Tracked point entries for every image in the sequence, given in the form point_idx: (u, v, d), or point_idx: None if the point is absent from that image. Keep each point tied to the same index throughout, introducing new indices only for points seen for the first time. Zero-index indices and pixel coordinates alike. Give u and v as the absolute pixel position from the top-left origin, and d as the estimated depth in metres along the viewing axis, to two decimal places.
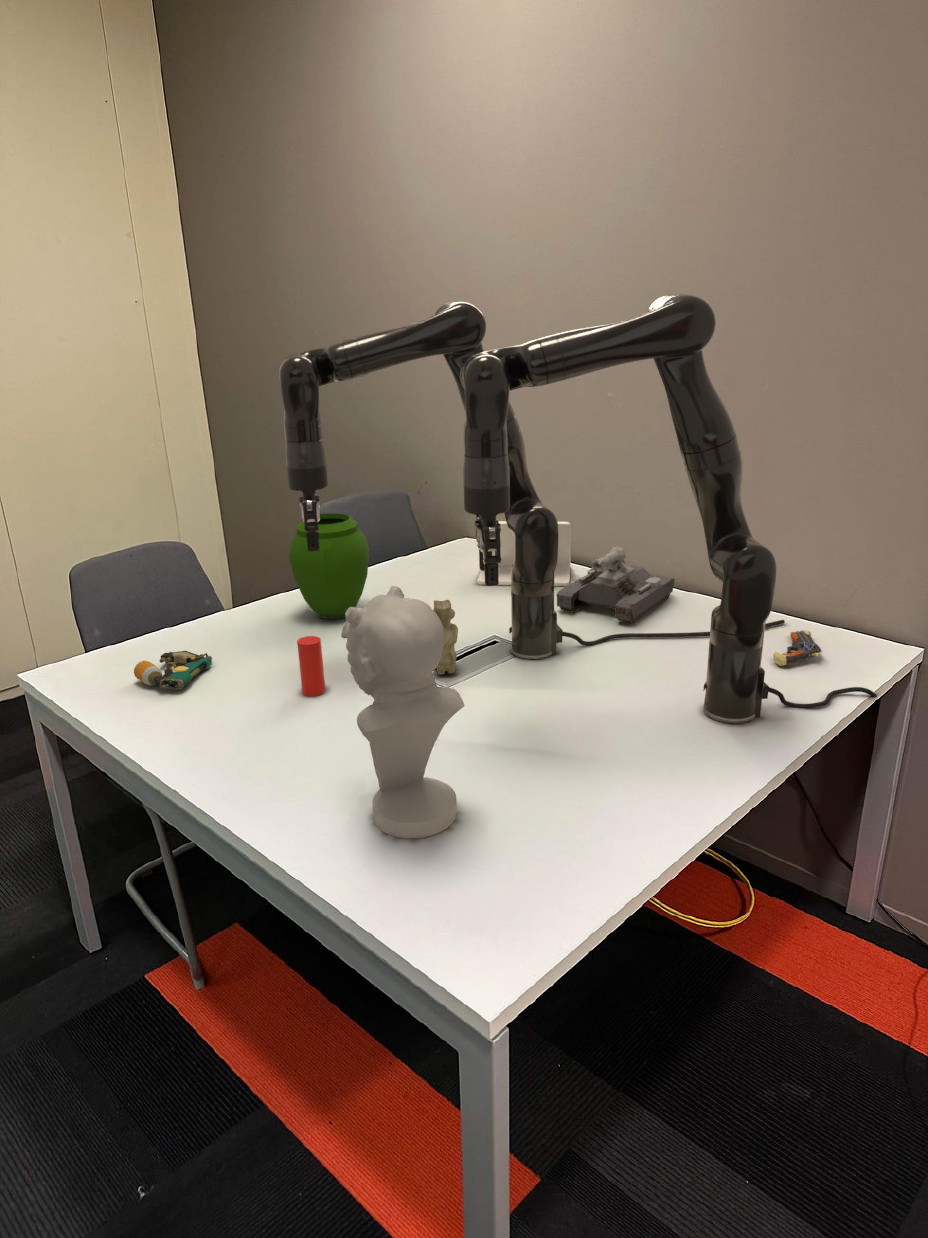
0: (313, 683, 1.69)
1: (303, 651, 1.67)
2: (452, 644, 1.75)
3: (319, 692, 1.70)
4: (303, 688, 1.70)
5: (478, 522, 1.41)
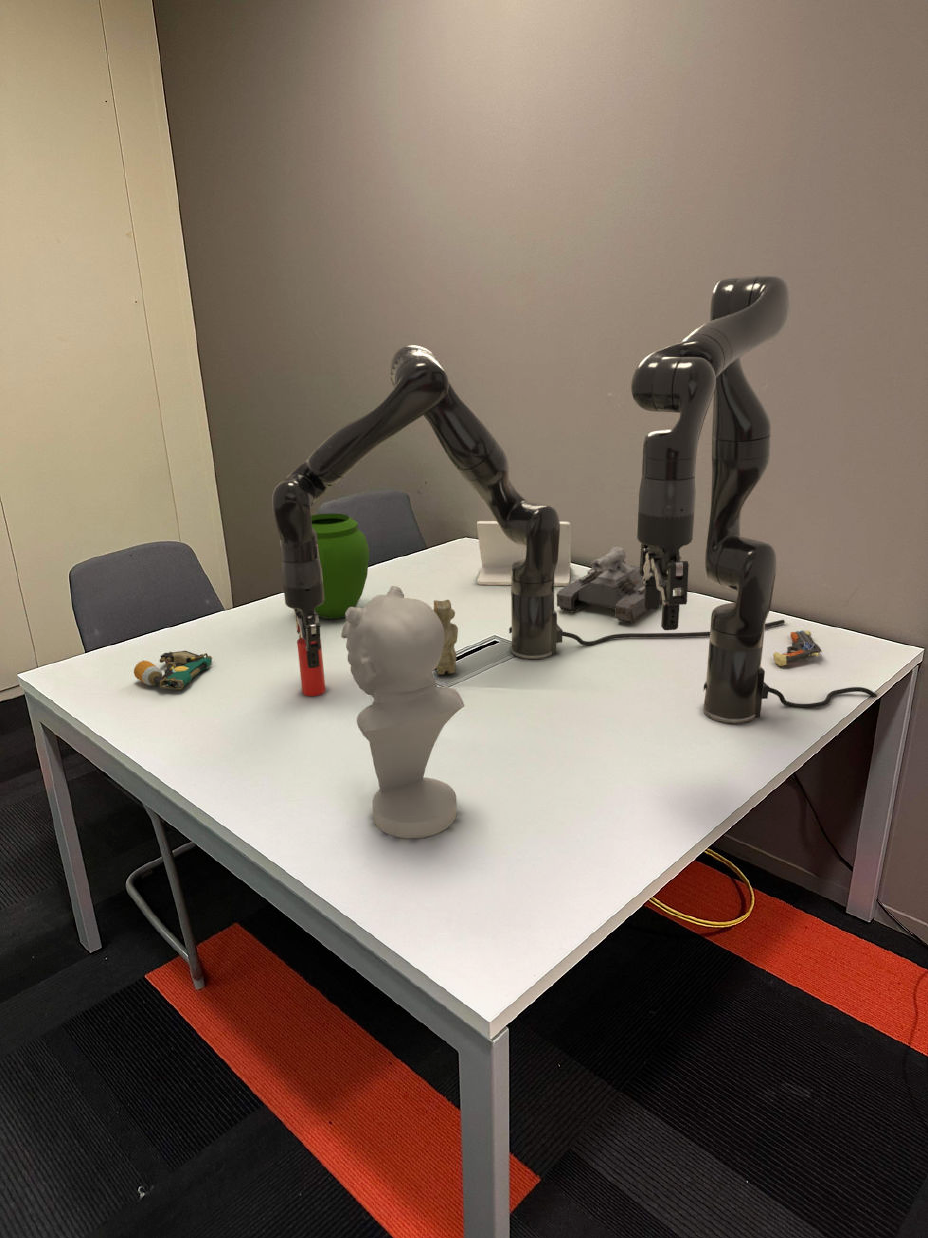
0: (313, 683, 1.69)
1: (303, 651, 1.67)
2: (452, 644, 1.75)
3: (319, 692, 1.70)
4: (303, 688, 1.70)
5: (651, 554, 1.20)
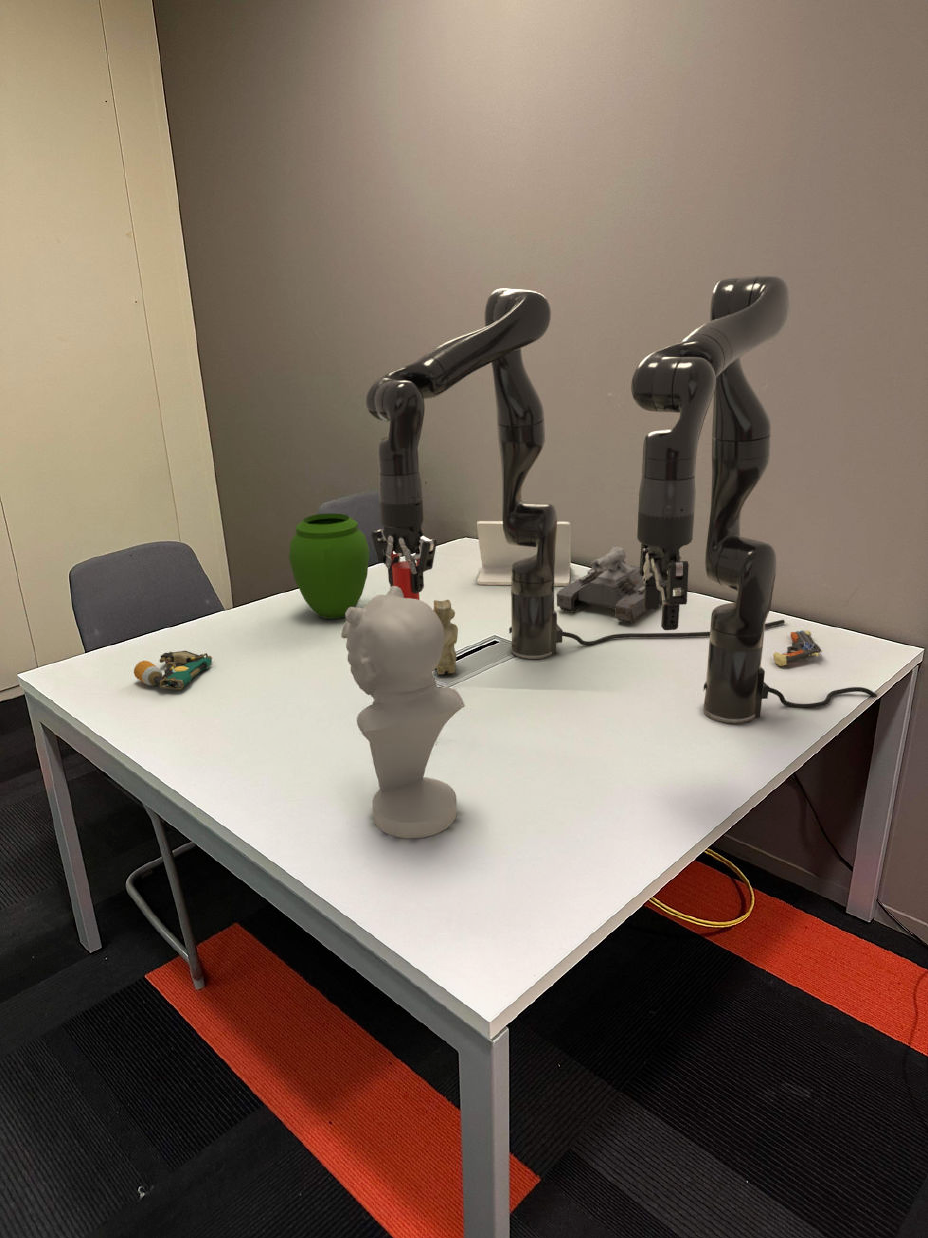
0: None
1: (406, 576, 1.52)
2: (452, 644, 1.75)
3: None
4: None
5: (651, 554, 1.20)
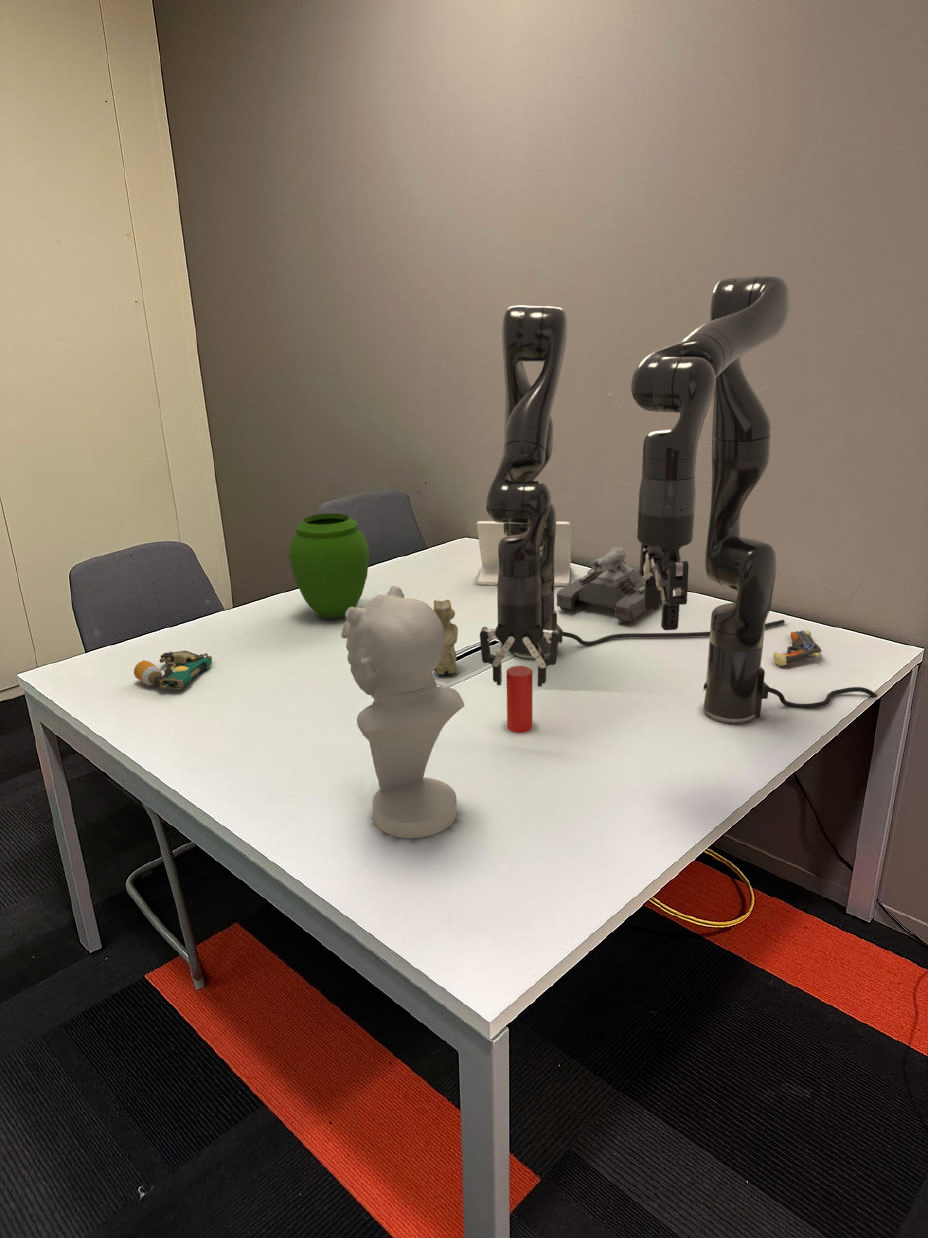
0: None
1: (528, 682, 1.50)
2: (452, 644, 1.75)
3: None
4: (523, 725, 1.53)
5: (651, 554, 1.20)
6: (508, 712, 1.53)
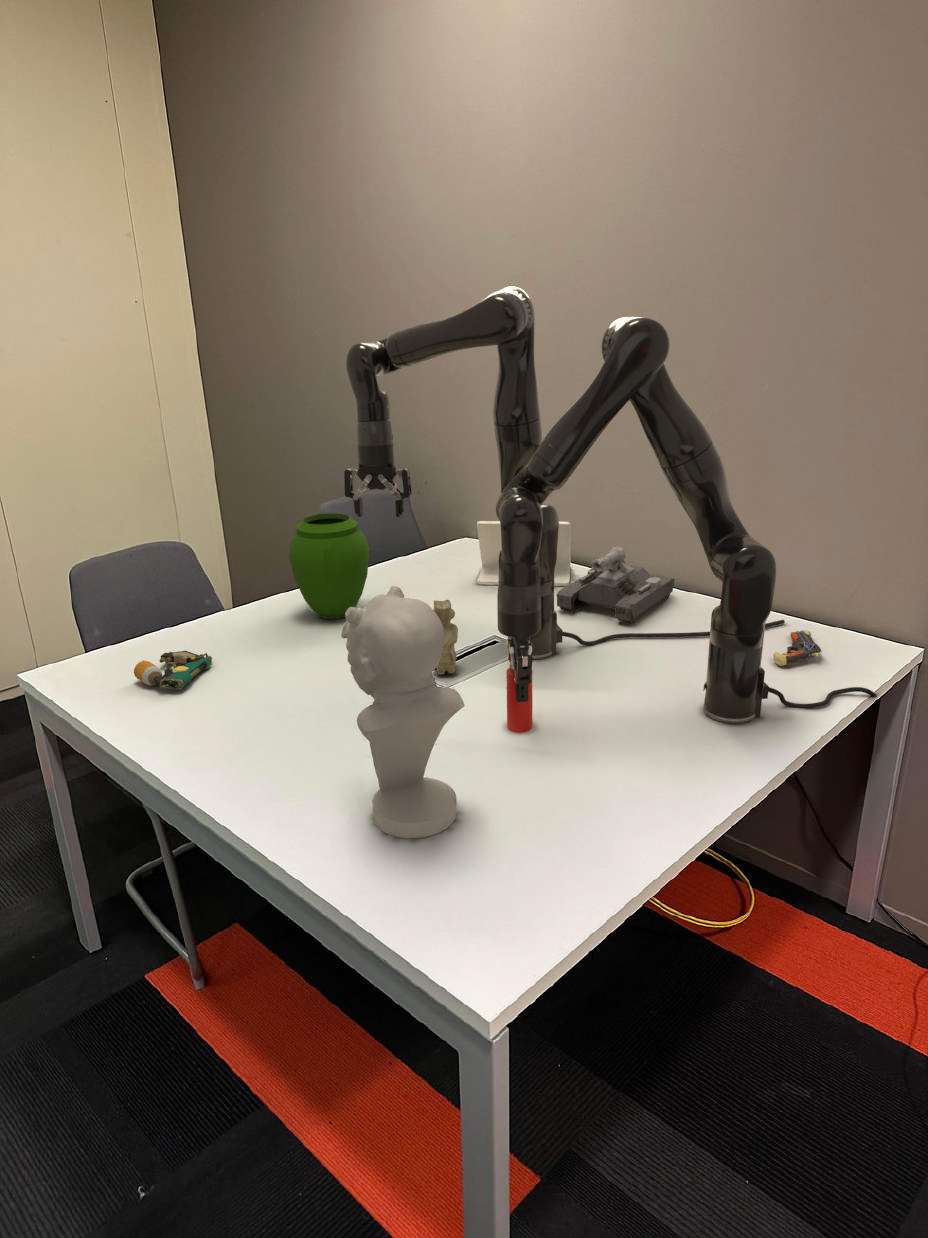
0: None
1: None
2: (452, 644, 1.75)
3: None
4: (523, 725, 1.53)
5: (510, 639, 1.50)
6: (508, 712, 1.53)
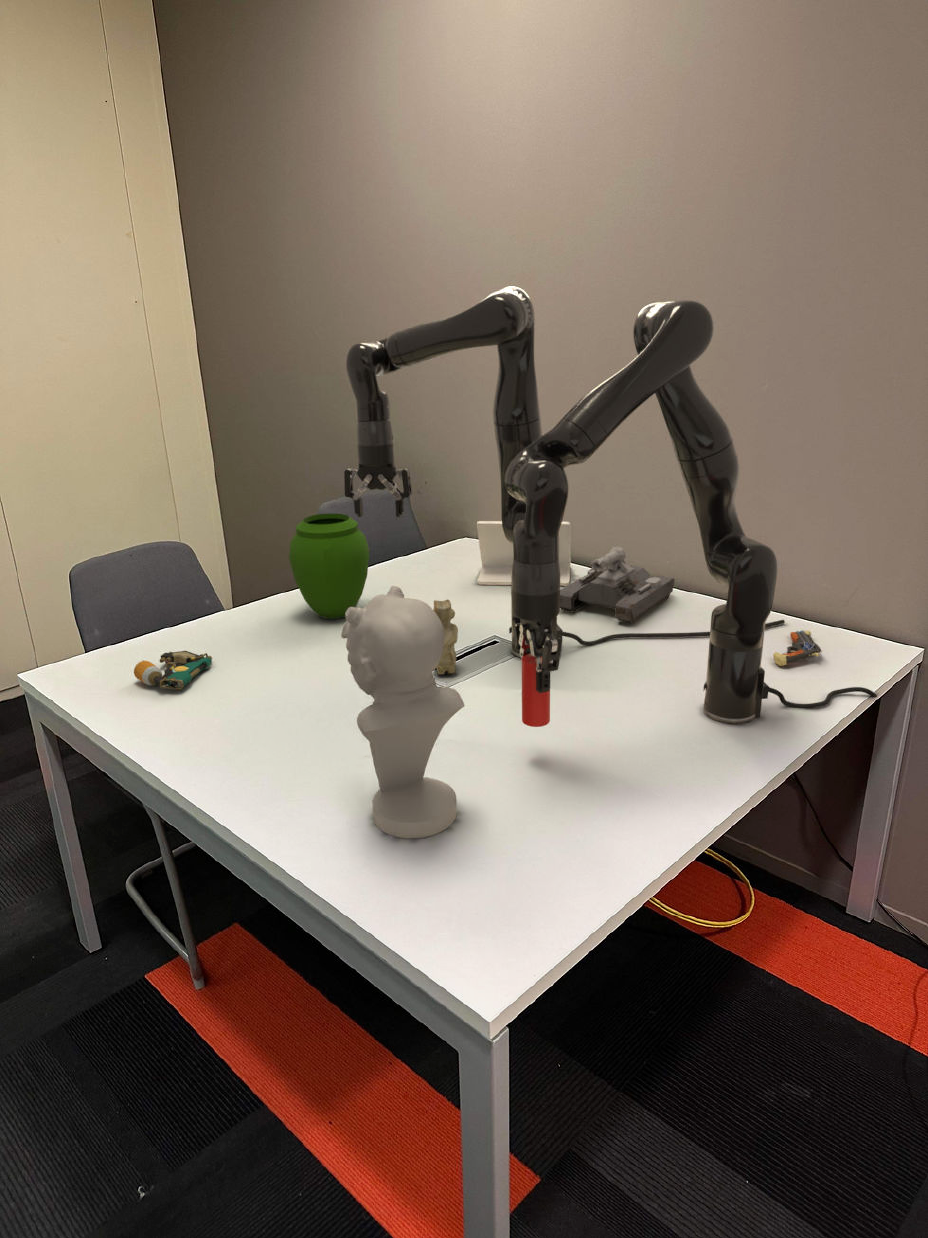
0: None
1: None
2: (452, 644, 1.75)
3: None
4: (543, 718, 1.39)
5: (525, 625, 1.36)
6: (525, 706, 1.39)
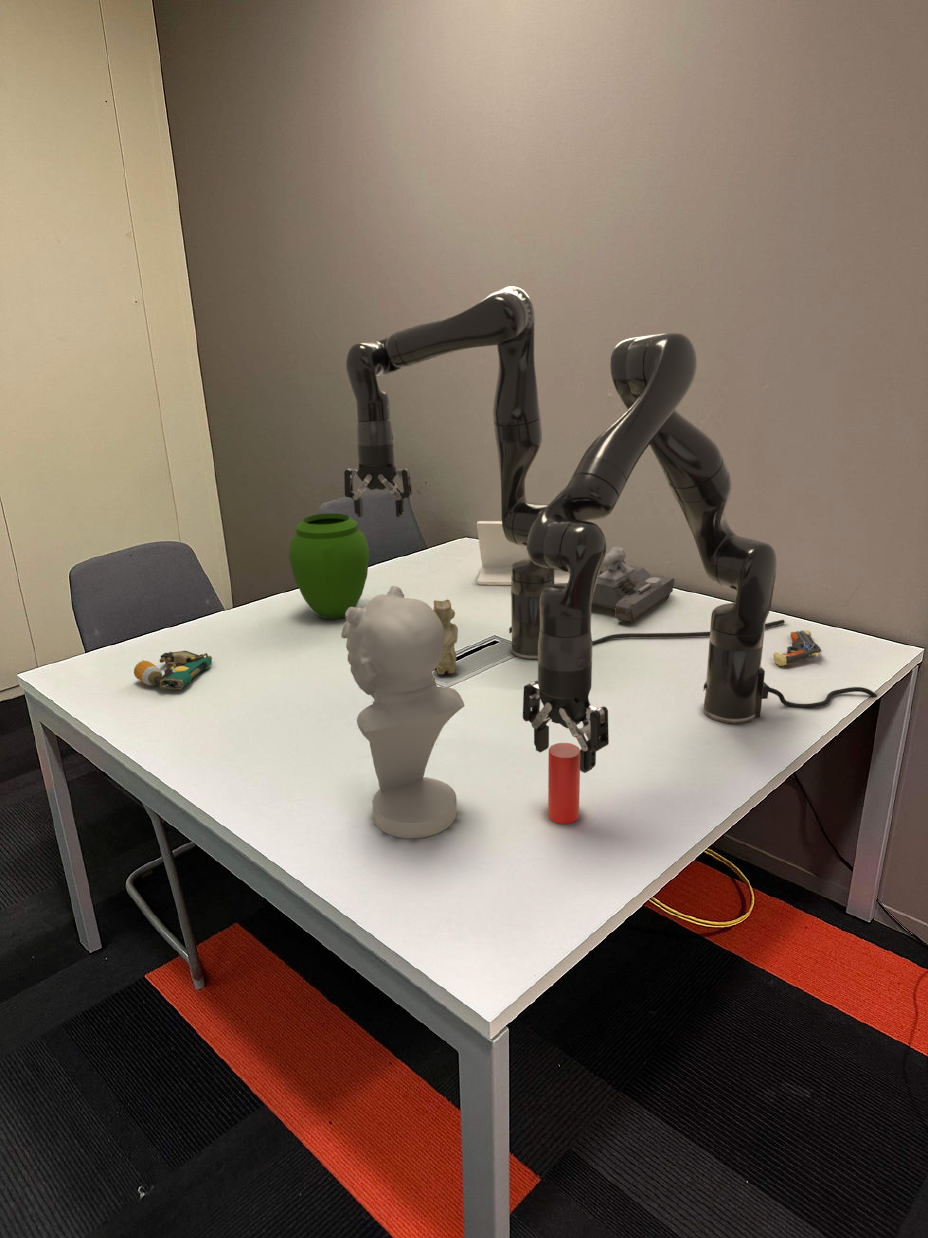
0: None
1: None
2: (452, 644, 1.75)
3: None
4: (576, 812, 1.27)
5: (553, 703, 1.21)
6: (558, 803, 1.25)
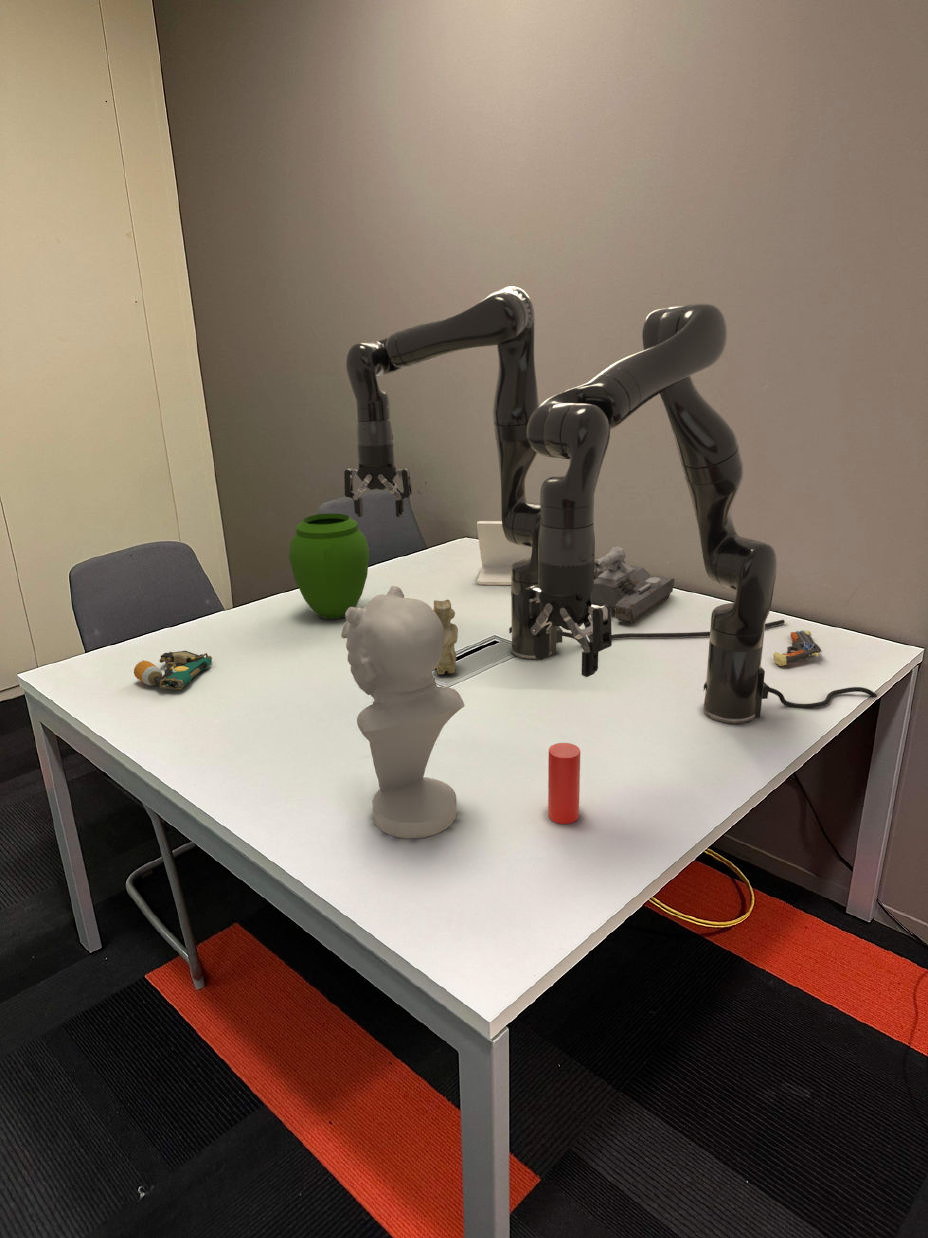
0: None
1: None
2: (452, 644, 1.75)
3: None
4: (576, 812, 1.27)
5: (553, 604, 1.16)
6: (558, 803, 1.25)
